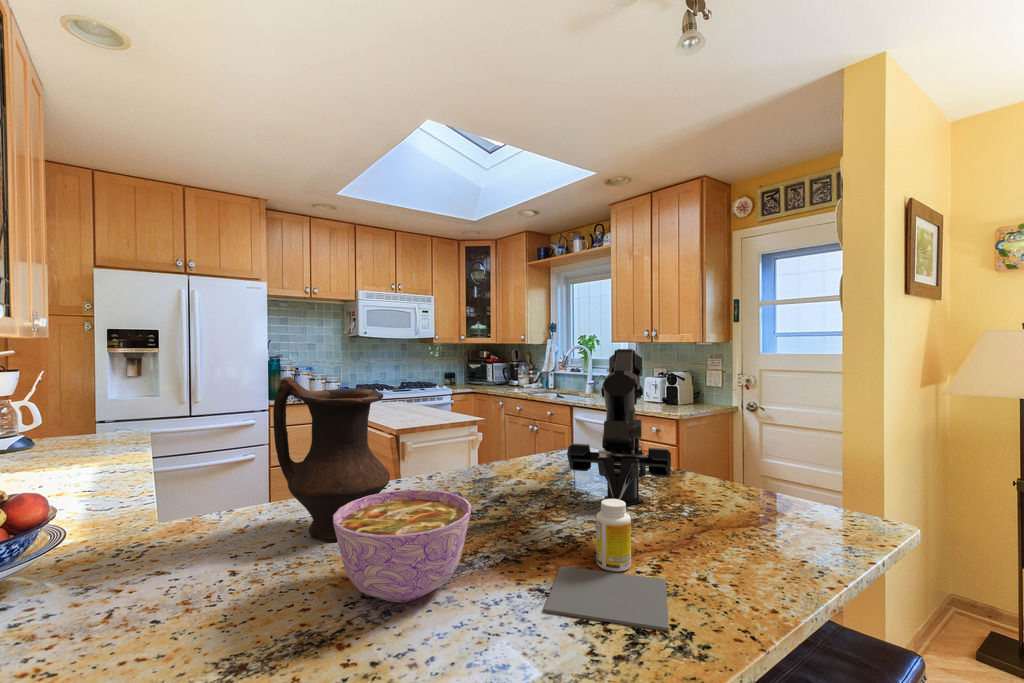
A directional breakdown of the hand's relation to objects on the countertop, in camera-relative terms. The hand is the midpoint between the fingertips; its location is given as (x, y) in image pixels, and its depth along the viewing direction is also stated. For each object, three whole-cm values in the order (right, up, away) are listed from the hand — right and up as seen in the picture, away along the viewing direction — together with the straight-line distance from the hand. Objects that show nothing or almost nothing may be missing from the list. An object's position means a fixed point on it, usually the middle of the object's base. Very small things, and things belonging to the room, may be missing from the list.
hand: (616, 501), depth 86 cm
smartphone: (-32, -9, +22) cm, 40 cm away
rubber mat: (-5, -8, -16) cm, 19 cm away
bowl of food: (-34, -8, -14) cm, 38 cm away
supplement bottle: (-2, -8, -7) cm, 11 cm away
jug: (-53, -8, +8) cm, 54 cm away
